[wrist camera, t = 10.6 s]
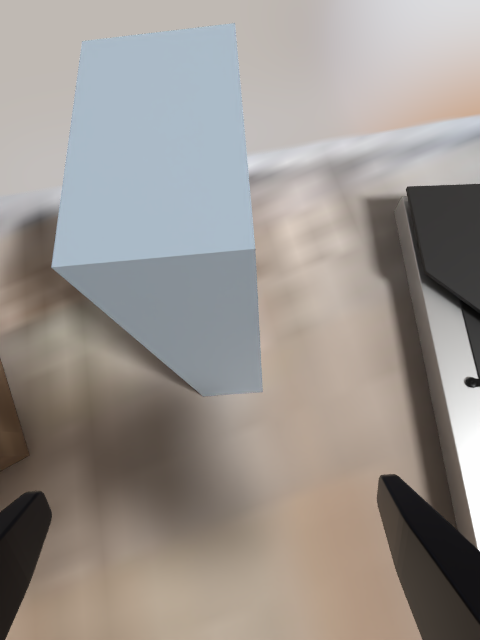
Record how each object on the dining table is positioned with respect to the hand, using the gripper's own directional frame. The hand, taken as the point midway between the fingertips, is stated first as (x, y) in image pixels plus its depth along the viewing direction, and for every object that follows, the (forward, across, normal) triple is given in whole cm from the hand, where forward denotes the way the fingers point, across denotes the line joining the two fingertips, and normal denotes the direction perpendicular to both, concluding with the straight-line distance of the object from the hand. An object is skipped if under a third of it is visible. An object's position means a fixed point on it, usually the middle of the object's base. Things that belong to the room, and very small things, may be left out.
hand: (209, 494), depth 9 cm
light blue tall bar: (+10, 0, +1) cm, 10 cm away
